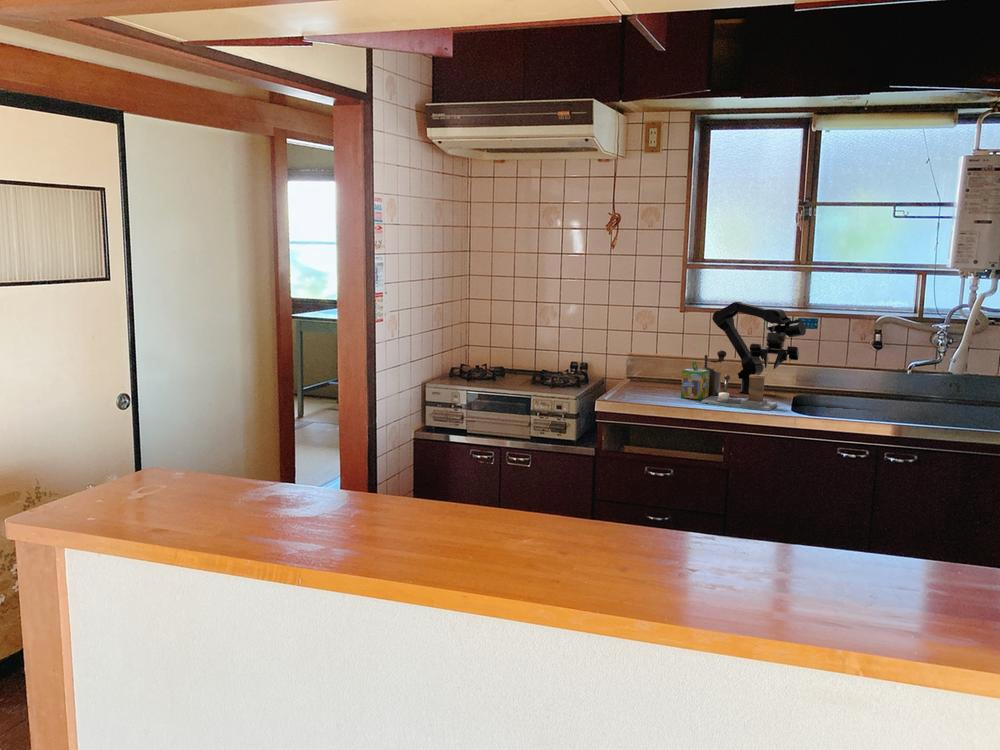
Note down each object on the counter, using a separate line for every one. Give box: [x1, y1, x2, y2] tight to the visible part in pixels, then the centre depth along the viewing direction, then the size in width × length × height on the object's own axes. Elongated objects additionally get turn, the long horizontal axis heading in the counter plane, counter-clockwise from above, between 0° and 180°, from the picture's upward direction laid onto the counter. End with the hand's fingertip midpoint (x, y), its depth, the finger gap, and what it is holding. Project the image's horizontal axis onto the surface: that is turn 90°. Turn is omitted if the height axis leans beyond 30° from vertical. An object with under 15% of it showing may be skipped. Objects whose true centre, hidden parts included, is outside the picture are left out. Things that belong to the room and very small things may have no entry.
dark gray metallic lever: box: [722, 374, 731, 393], centre depth 340 cm, size 2×2×8 cm
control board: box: [700, 391, 778, 412], centre depth 334 cm, size 14×26×4 cm, turn 60°
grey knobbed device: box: [699, 350, 727, 396], centre depth 358 cm, size 16×11×18 cm
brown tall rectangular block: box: [747, 374, 766, 403], centre depth 332 cm, size 3×5×11 cm, turn 60°
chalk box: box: [680, 361, 710, 401], centre depth 347 cm, size 9×9×15 cm
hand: (769, 367), depth 341 cm, fingers open, 3 cm apart
